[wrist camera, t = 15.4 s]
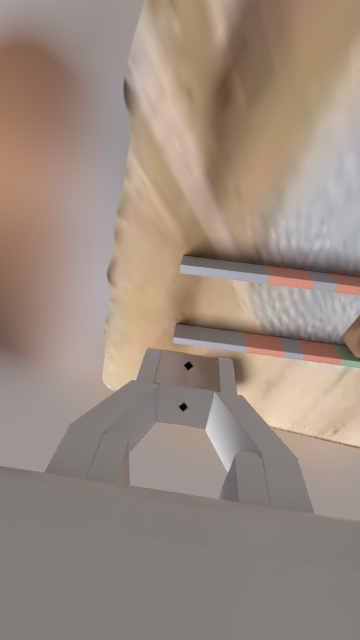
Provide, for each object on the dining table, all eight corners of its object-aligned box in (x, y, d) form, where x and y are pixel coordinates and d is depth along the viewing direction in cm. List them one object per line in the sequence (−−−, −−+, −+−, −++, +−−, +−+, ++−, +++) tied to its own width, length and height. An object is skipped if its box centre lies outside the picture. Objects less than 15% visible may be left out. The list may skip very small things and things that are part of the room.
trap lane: (183, 255, 36) (180, 264, 33) (446, 287, 35) (471, 300, 32) (175, 329, 44) (172, 342, 40) (393, 358, 42) (409, 374, 39)
